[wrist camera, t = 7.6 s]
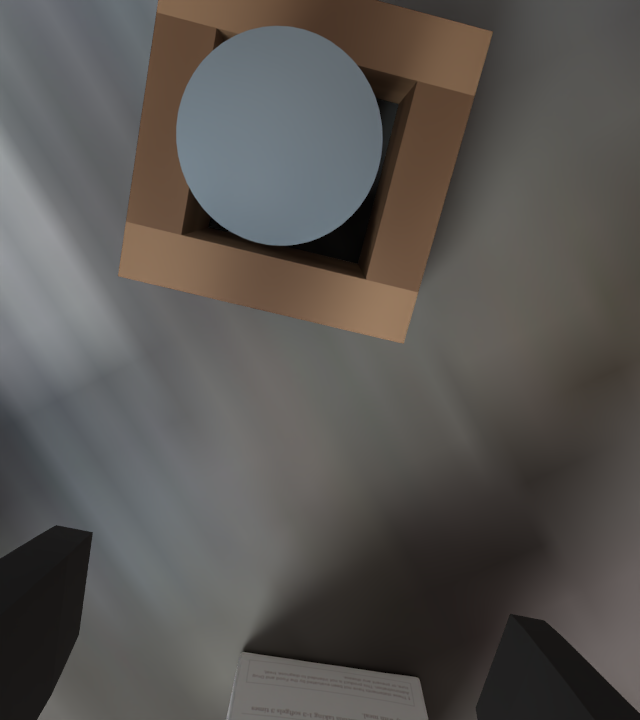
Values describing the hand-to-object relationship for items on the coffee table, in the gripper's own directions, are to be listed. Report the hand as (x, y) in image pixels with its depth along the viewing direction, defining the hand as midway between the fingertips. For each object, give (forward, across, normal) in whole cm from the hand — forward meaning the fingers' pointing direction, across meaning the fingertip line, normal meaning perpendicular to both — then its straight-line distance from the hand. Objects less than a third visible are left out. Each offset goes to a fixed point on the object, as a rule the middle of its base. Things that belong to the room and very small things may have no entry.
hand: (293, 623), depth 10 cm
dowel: (+10, +2, -8) cm, 13 cm away
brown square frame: (+10, +2, -8) cm, 13 cm away
